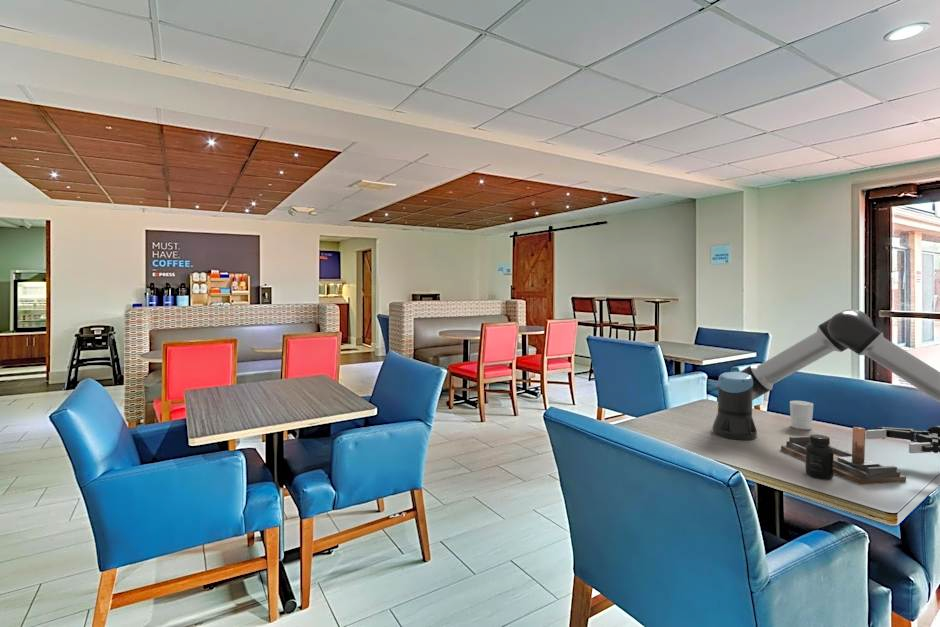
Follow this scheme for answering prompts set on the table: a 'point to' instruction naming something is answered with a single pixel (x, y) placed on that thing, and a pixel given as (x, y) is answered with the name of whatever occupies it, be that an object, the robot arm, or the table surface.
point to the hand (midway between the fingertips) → (887, 441)
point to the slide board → (870, 476)
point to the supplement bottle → (819, 457)
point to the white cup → (801, 414)
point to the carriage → (858, 452)
